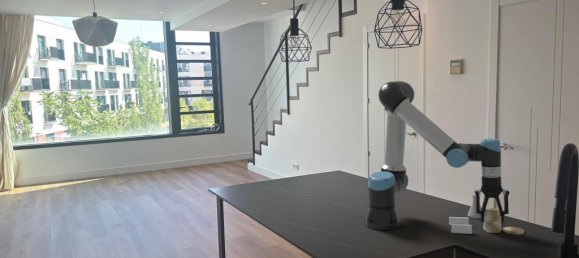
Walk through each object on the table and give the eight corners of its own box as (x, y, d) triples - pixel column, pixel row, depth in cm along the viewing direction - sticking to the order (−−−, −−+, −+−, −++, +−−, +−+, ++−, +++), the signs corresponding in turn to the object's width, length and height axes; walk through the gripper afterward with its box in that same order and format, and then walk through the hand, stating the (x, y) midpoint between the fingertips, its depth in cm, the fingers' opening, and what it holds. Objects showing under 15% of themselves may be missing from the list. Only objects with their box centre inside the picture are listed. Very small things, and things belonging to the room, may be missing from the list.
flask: (474, 219, 200) (474, 198, 199) (464, 215, 207) (464, 194, 206) (487, 218, 202) (488, 196, 201) (477, 213, 209) (477, 193, 208)
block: (487, 232, 183) (486, 211, 183) (485, 228, 188) (484, 208, 187) (500, 232, 182) (499, 211, 181) (497, 228, 187) (497, 208, 186)
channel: (451, 232, 185) (451, 224, 184) (449, 224, 195) (449, 216, 195) (471, 233, 182) (471, 225, 182) (468, 225, 193) (468, 217, 193)
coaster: (505, 234, 180) (505, 232, 180) (501, 227, 188) (501, 226, 188) (526, 235, 178) (526, 233, 178) (521, 228, 186) (521, 227, 186)
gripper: (469, 177, 182) (470, 232, 184) (517, 177, 177) (517, 233, 179) (467, 174, 189) (468, 226, 191) (512, 173, 184) (513, 227, 186)
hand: (492, 229), depth 185 cm, fingers closed on block, 5 cm apart
